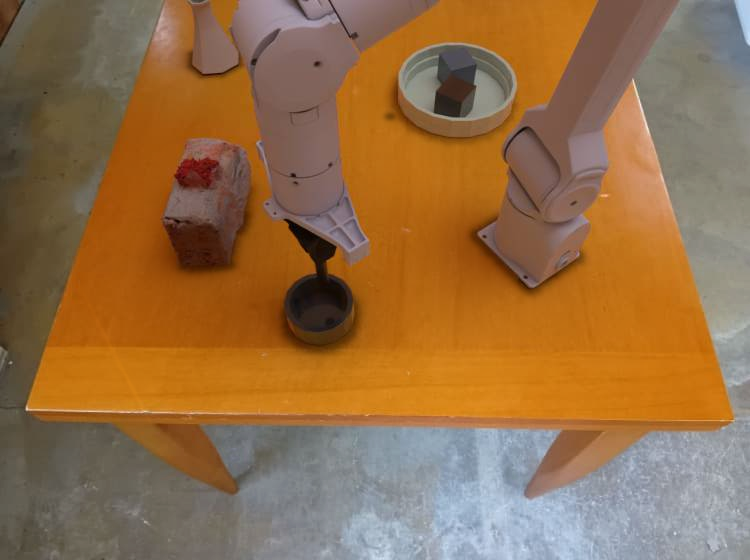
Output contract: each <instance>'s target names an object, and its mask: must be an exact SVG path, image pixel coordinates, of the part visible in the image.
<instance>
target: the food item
mask: <svg viewBox="0 0 750 560" xmlns="http://www.w3.org/2000/svg"><path fill="white" fill-rule="evenodd" d="M173 177H174V178H173V183H172V186H171V189H170V190H171V191H170V194H169V196H168V199H167V200H168V201H167V204H166V205H165V210H164V212H163V215H162V217H161V218H160V221H162V226H163V228H164V230H165V231H166V234H167V236H168V239H169V241H170V244H171V247H172V248H173V251H174V253H175V254H176V256H177V262H179V263H180V264H181V265H186V266H223V265H229V264H231V262H232V261H231V260H232V254H233V250H234V248H233V247H234V243H235V240H236V238H237V233H238V231H239V230H240V229H241V227H242V226H243V225H244V217H245V210H246V207H247V205H248V203H249V202H248V201H249V200H248V197H249V195H250V192H251V181H252V166H251V162H250V160H249V159H248V152H247V150H246V149H245V148H243V146H242V145H237V144H236V143H231V142H230V141H229V142H228V141H227V140H224V139H220V138H219V139H218V138H210V137H200V138H199V137H197V138H186V140H185V144H184V150H183V152H182V154H181V157H180V160H179V163H178V166H177V169H176V172H175V173H174V174H173Z"/></svg>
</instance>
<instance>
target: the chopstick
mask: <svg viewBox="0 0 750 560" xmlns="http://www.w3.org/2000/svg"><path fill="white" fill-rule="evenodd" d="M327 262H328V260H327V261H325V262H324V263H322V264H320V265H316V264H315V263H314V268H315V273H316V275H317V281H318V284H319V285H320V286H323V287H324V286H327V285H328V284H329V275H328V274H329V269H328V263H327Z"/></svg>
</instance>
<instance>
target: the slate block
mask: <svg viewBox="0 0 750 560" xmlns="http://www.w3.org/2000/svg"><path fill="white" fill-rule="evenodd" d="M476 69H477V63H476V61H475V60H474V59H473V57H472V56H471V55H470V53H469V52H468V51H467V49H466V48H465V47H463V48H459V49H455V50H451V51H447V52H443V53H439V61H438V71H437V78H438V79H439V81H440V82H441V84H443V83H444V82H445V81H446V80H447V79H448V77H449V76H450V75H453V76H455V77H457V78H460V79H462V80H464V81H467V82H469V83H471V84H474V80H475V74H476Z"/></svg>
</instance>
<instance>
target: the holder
mask: <svg viewBox="0 0 750 560" xmlns="http://www.w3.org/2000/svg"><path fill="white" fill-rule="evenodd" d="M328 275H329V284H328V285H327V286H324V287H323V286H320V285H319V284H318V281H317V275H316V272H314V273H309V274H306V275H303V276H302V277H301V278H299V279H297V280H295V281H294V282H293V283H292V285H291V286H290V287H289V288H288V290H287V291H286V294H285V297H284V300H283V307H284V312H285V317H286V321H287V324H288V327H289V329H290V331H292V333H293V335H294V336H295V337H296V338H297V339H298V340H300V341H302V342H304V343H305V344H308V345H312V346H326V345H327V346H328V345H331V344H334V343H335V342H338V341H339V340H341V339H342V338H343V337H345V336H346V335H347V334H348V332H349V331H350V329H351V328H352V326H353V325H354V320H355V315H356V313H355V301H354V296H353V292H352V289H351V287H349V284H347V283H346V281H345V280H344V279H342V278H340V277H338V276H336V275H335V274H333V273H328Z"/></svg>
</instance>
